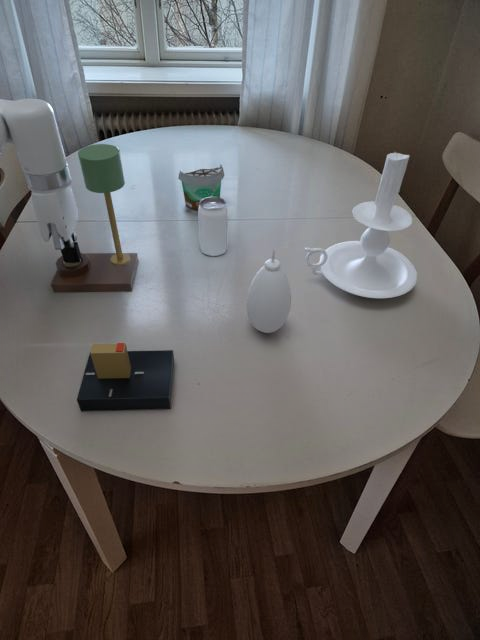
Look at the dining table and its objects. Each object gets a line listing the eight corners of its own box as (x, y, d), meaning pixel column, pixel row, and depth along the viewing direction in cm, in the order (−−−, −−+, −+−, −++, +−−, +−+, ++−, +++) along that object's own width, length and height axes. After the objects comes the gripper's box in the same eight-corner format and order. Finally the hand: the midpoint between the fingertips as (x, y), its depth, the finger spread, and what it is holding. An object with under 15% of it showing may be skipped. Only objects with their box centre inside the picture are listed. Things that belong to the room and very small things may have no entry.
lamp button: (63, 272, 89) (61, 265, 88) (67, 262, 92) (65, 255, 91) (80, 272, 90) (79, 265, 88) (84, 262, 92) (82, 255, 91)
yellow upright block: (98, 378, 68) (89, 352, 64) (100, 369, 70) (92, 342, 66) (129, 378, 69) (123, 351, 64) (131, 368, 70) (125, 342, 66)
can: (225, 240, 104) (225, 194, 96) (229, 256, 99) (229, 209, 91) (198, 242, 103) (196, 196, 95) (201, 258, 99) (199, 211, 90)
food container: (188, 217, 112) (185, 180, 105) (180, 206, 116) (177, 170, 109) (231, 208, 116) (231, 172, 109) (222, 198, 120) (222, 163, 113)
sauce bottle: (264, 309, 86) (271, 231, 74) (295, 328, 82) (307, 249, 70) (237, 328, 82) (240, 248, 70) (268, 349, 78) (276, 269, 66)
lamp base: (53, 292, 88) (47, 277, 86) (66, 261, 96) (61, 246, 94) (132, 291, 89) (129, 276, 86) (138, 260, 97) (136, 246, 94)
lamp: (100, 270, 88) (73, 159, 72) (106, 251, 93) (82, 143, 77) (135, 270, 88) (116, 160, 72) (139, 251, 93) (122, 144, 77)
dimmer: (80, 411, 67) (76, 399, 65) (93, 363, 75) (89, 350, 73) (170, 409, 68) (168, 397, 66) (174, 361, 75) (173, 349, 73)
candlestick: (290, 254, 100) (306, 131, 81) (392, 250, 103) (430, 129, 84) (310, 313, 86) (335, 180, 66) (428, 307, 88) (485, 176, 69)
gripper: (38, 159, 82) (64, 240, 95) (12, 196, 72) (44, 282, 84) (78, 159, 83) (98, 240, 95) (58, 195, 72) (83, 282, 84)
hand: (73, 260), depth 90 cm, fingers closed
